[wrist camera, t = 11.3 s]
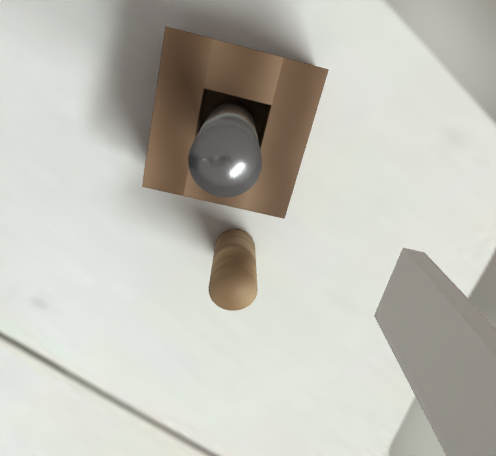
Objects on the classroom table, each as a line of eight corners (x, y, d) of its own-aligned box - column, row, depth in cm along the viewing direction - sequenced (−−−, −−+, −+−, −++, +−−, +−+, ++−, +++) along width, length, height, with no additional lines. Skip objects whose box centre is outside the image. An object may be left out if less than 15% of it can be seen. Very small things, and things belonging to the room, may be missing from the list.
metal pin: (203, 140, 35) (182, 188, 22) (212, 94, 34) (195, 116, 21) (247, 151, 36) (252, 204, 23) (258, 105, 34) (270, 134, 21)
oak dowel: (211, 261, 41) (204, 305, 34) (219, 225, 39) (214, 263, 32) (249, 269, 41) (250, 314, 34) (259, 234, 40) (262, 274, 32)
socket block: (154, 170, 37) (142, 186, 33) (176, 31, 33) (165, 26, 28) (279, 199, 38) (284, 218, 34) (317, 68, 34) (328, 69, 29)
